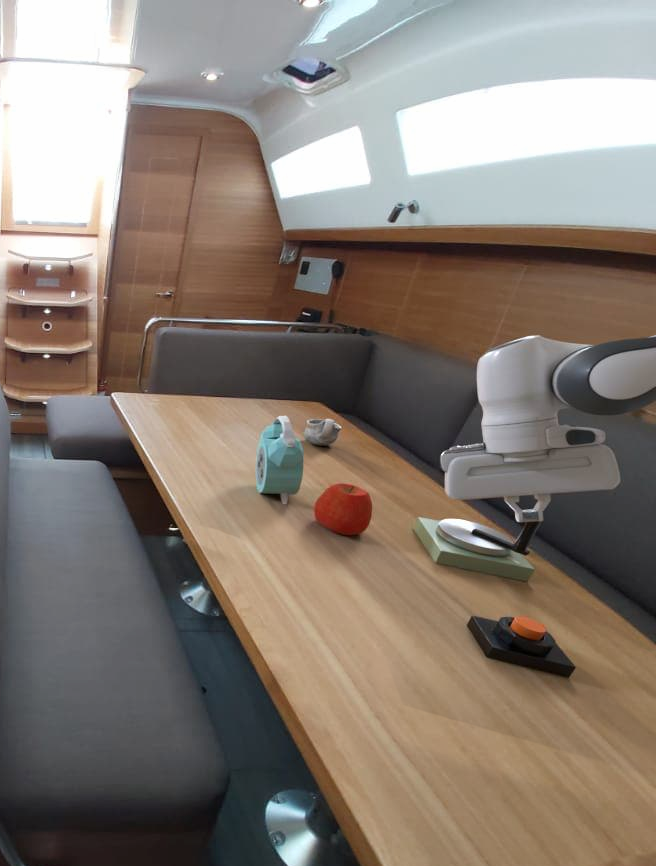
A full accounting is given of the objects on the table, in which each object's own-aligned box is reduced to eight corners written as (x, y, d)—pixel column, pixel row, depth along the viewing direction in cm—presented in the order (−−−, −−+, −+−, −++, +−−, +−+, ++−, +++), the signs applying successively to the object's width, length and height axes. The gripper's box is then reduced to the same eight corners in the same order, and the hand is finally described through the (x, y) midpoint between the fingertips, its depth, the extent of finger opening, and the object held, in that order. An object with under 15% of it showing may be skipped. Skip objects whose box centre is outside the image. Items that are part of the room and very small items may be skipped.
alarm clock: (298, 511, 119) (324, 432, 110) (256, 504, 121) (277, 427, 112) (283, 481, 134) (304, 410, 125) (245, 476, 136) (264, 405, 127)
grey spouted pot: (329, 440, 165) (339, 411, 160) (342, 454, 153) (353, 423, 149) (297, 437, 166) (306, 408, 162) (308, 450, 155) (318, 420, 151)
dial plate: (493, 543, 109) (500, 531, 107) (527, 581, 96) (535, 568, 95) (412, 528, 113) (417, 516, 112) (435, 562, 101) (441, 550, 99)
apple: (304, 527, 112) (318, 485, 107) (316, 510, 119) (330, 470, 115) (359, 546, 105) (377, 502, 101) (368, 527, 113) (385, 485, 108)
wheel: (538, 562, 96) (561, 523, 93) (482, 562, 95) (503, 524, 92) (472, 524, 109) (490, 489, 105) (422, 524, 108) (438, 489, 104)
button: (533, 628, 78) (539, 620, 78) (545, 643, 75) (551, 635, 75) (505, 622, 80) (510, 613, 79) (516, 637, 76) (521, 628, 76)
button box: (540, 642, 81) (553, 623, 79) (568, 678, 74) (583, 658, 72) (466, 625, 84) (476, 606, 82) (486, 657, 77) (498, 638, 75)
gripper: (442, 449, 85) (451, 529, 85) (620, 429, 74) (630, 520, 74) (435, 446, 90) (444, 521, 91) (600, 427, 79) (609, 512, 80)
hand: (529, 521), depth 83 cm, fingers closed
